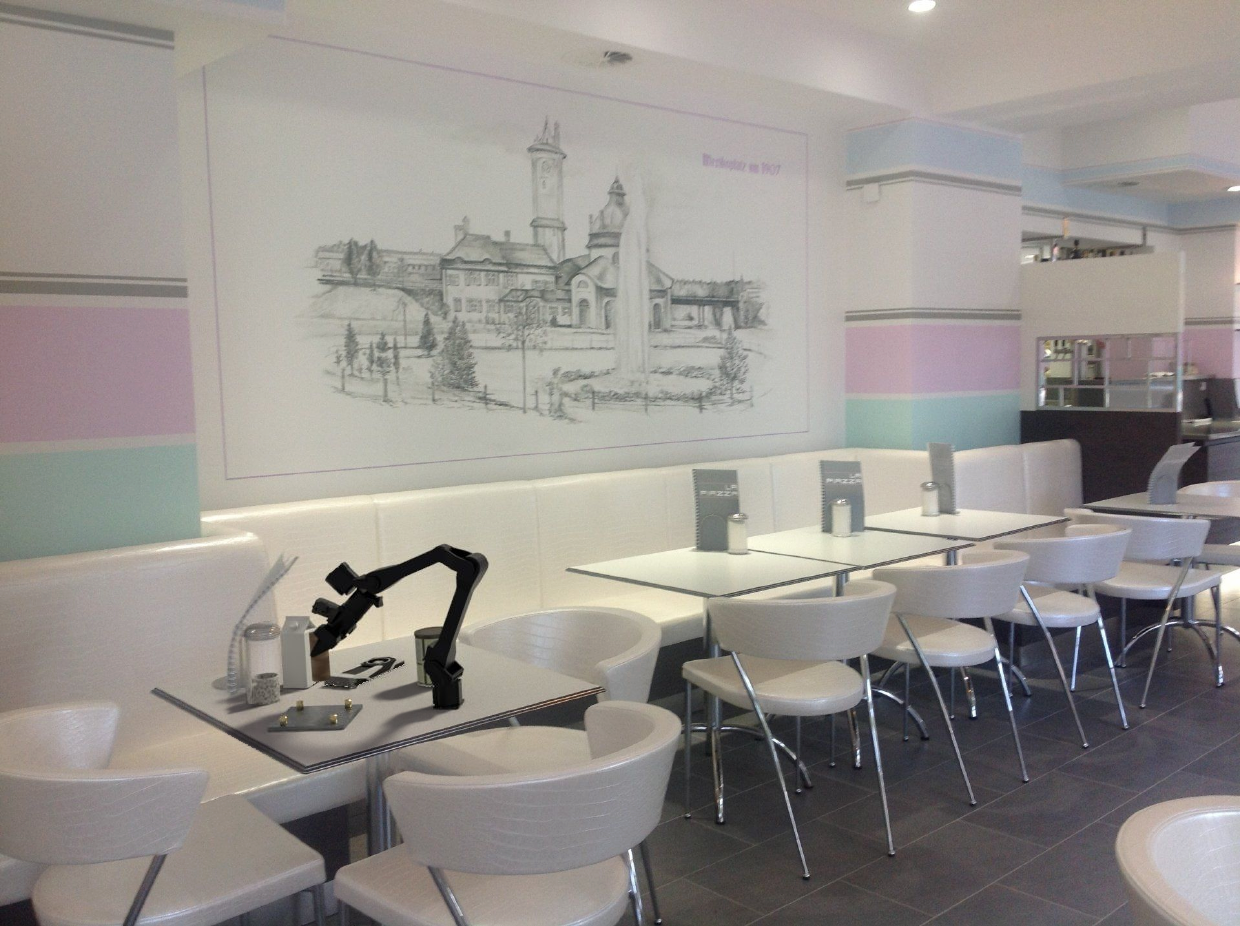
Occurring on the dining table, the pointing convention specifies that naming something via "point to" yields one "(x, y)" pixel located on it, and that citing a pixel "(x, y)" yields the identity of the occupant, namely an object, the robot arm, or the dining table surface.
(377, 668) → the graphics card
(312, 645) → the walnut column
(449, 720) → the dining table surface
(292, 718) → the base plate
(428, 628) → the coffee can
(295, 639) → the milk carton
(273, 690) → the mug
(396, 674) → the dining table surface
